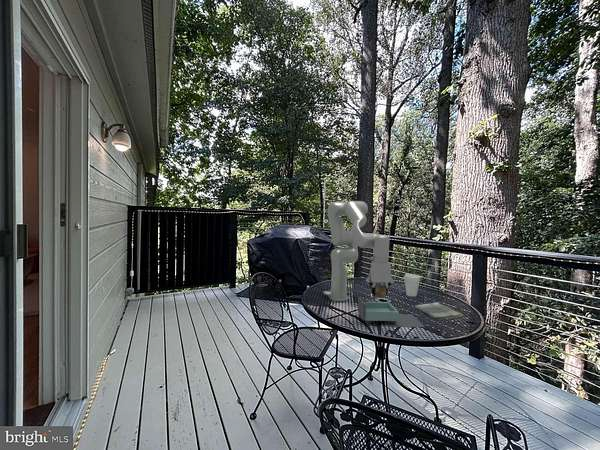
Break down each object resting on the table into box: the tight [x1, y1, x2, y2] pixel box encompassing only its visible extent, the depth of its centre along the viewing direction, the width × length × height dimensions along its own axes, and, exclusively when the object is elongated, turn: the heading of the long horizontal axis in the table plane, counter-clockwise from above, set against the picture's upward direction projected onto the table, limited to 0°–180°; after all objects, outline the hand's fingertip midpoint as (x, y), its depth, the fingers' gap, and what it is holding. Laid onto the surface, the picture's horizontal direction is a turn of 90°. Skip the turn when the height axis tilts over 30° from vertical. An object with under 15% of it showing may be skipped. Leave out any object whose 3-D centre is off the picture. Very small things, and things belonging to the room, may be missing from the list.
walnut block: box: [374, 284, 387, 299], centre depth 152 cm, size 5×5×5 cm
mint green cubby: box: [357, 296, 400, 325], centre depth 152 cm, size 17×14×10 cm
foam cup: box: [404, 273, 421, 298], centre depth 197 cm, size 10×9×13 cm
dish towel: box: [414, 301, 464, 320], centre depth 167 cm, size 19×18×3 cm
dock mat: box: [384, 313, 426, 328], centre depth 153 cm, size 18×16×1 cm
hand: (379, 294), depth 152 cm, fingers closed on walnut block, 4 cm apart
